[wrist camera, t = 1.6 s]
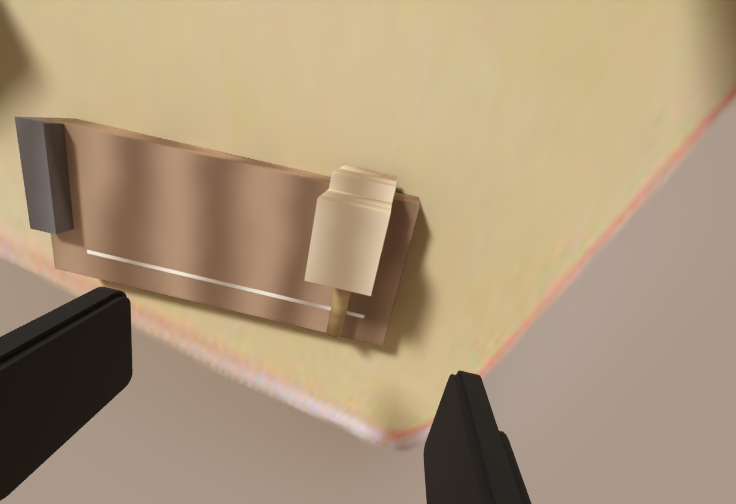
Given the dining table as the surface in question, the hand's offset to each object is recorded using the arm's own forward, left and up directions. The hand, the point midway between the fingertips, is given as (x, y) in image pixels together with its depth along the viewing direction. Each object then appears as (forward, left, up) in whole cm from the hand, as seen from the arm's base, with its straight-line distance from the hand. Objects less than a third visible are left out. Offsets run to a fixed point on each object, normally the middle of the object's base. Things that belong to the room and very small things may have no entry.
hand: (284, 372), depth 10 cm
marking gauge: (0, +2, -18) cm, 18 cm away
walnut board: (+10, +4, -19) cm, 22 cm away
